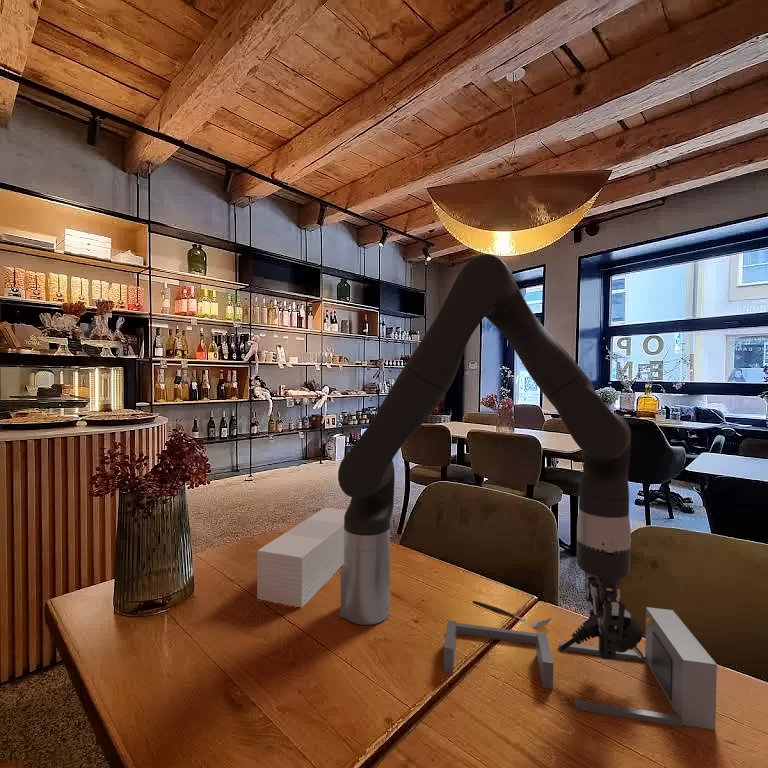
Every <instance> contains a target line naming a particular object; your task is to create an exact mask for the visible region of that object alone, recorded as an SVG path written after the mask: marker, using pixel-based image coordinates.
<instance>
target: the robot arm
mask: <svg viewBox="0 0 768 768" xmlns="http://www.w3.org/2000/svg"><path fill="white" fill-rule="evenodd" d="M484 318H486V320H488V321H489V322H490V323H491V324H492V325H494V326H495V328H497V329H498V331H499V332H500V333H501V334H502V335H503V336H504V337H505V339H506V340H507V341H508V343H509V344H510V345H511V347H512V348H513V350H514V351H515V353H516V355H517V356H518V359H519V360H520V362H521V364H522V366H524V368H525V370H526V372H527V373H528V374H529V376H530V377H531V379H532V380H533V381H534V383H535V384H536V386H537V387H538V388H539V389H540V391H541V393H543V395H544V396H545V398H546V399H547V401H549V403H550V404H551V405H552V406H553V407H554V408H555V410H556V411H557V413H558V415H559V417H560V419H561V420H562V422H563V424H564V426H565V428H566V429H567V431H568V433H569V435H570V437H572V439H573V441H574V442H575V444H576V445H577V446H578V447H579V448H580V450H581V451H582V452H583V469H582V473H581V476H580V479H579V488H578V515H577V520H576V522H577V523H576V564H577V566H578V567H579V569H580V570H582V571H583V572H584V583H585V584H584V585H585V586H584V588H585V590H584V591H585V596H584V598H585V600H586V603H587V602H588V604H587V609H588V611H589V617H590V616H591V615H593V614H595V615H596V616H597V617H598V626H599V628H598V631H599V635H598V636H597V637H596V638H598V647H599V655H598V656H599V657H600V658H601V659H603V660H609V661H615V660H616V659H617V658H616V639H622V637H623V635H622V634H623V624H624V613H625V610H626V605H625V602H624V601H620V599H621V589H620V586H619V585H617V581H618V580H620V579H625V578H626V577H628V576H629V575H630V573H631V541H632V539H631V538H632V537H631V534H632V533H631V532H632V529H631V523H630V489H629V488H630V487H629V472H630V471H629V469H630V460H631V449H632V447H631V446H632V432H631V428H630V425H629V423H628V421H627V420H626V419H625V418H623V417H622V416H621V415H620V414H618V413H615V412H613V411H612V410H610V409H609V407H608V406H607V405H606V403H605V402H604V401H603V400H602V399H601V397H600V396H599V395H598V394H597V393H596V391H595V387H594V384H593V383H592V381H591V379H590V378H589V377H588V375H586V373H585V372H584V370H583V369H582V368H581V367H580V365H579V364H578V363H577V362H576V360H575V359H574V358H573V357H572V356H571V355H570V353H569V352H568V351H567V350H566V348H564V346H562V344H561V343H560V342H559V341H558V340H557V339H556V338H555V337H554V336H553V335H552V334H551V332H549V331H548V329H546V328H545V326H544V325H543V324H542V323H541V322H540V320H539V319H538V318H537V316H536V315H535V313H534V312H533V311H532V309H531V308H530V306H529V305H528V303H527V301H526V300H525V297H524V295H523V294H522V291H521V290H520V288H519V286H518V285H517V281H516V278H515V275H514V274H513V272H512V271H511V270H510V269H509V267H508V266H507V264H506V263H505V262H504V261H503V260H502V259H501V258H500V257H498V256H497V255H494V254H491V253H485V254H484V253H483V254H480V255H477V256H475V257H473V258H472V259H470V260H469V261H468V262H467V263H465V265H463V267H462V268H461V269H460V271H459V273H458V274H457V277H456V278H455V280H454V283H453V284H452V286H451V288H450V291H449V293H448V294H447V296H446V299H445V301H444V302H443V304H442V306H441V308H440V309H439V312H438V313H437V315H436V317H435V319H434V320H433V322H432V324H431V325H430V326H429V328H428V330H427V332H426V333H425V334H424V336H423V337H422V339H421V341H419V344H418V345H417V347H416V348H415V350H414V351H413V353H412V354H411V356H409V359H408V360H407V362H406V363H405V365H404V366H403V368H402V370H401V371H400V372H399V374H398V375H397V378H396V380H395V381H394V383H393V385H392V386H391V389H389V391H388V393H387V394H386V395H385V398H384V399H383V401H382V403H381V404H380V406H379V408H378V410H377V411H376V413H375V414H374V417H373V418H372V421H371V422H370V424H369V425H368V426H367V428H366V429H365V430H364V432H363V433H362V434H361V435H360V437H359V438H358V439H357V441H356V442H355V443H354V445H353V446H352V447H351V448H350V450H349V451H347V453H346V454H345V456H343V459H342V460H341V462H340V463H339V467H338V471H337V480H338V485H339V487H340V489H341V491H342V492H343V493H344V494H345V495H346V496H348V497H350V498H351V499H350V502H349V506H348V508H346V510H347V511H346V513H345V516H344V565H343V567H342V568H341V569H340V570H339V571H340V572H339V573H340V579H339V581H340V584H339V587H340V589H339V590H340V592H339V594H340V595H339V599H340V601H339V608H340V609H339V611H340V612H339V616H340V617H341V618H344V619H346V620H348V621H349V622H351V623H353V624H357V625H364V626H365V625H375V624H378V623H381V622H383V621H385V620H386V619H387V618H388V617H389V616H390V615H389V614H390V601H391V600H390V583H391V582H390V579H391V576H390V575H391V573H390V571H391V570H390V567H391V565H390V564H391V563H390V562H391V560H390V559H391V555H390V553H391V550H390V549H391V543H390V542H391V519H392V518H391V517H392V514H393V511H394V504H395V503H394V501H395V481H396V480H395V479H396V477H395V465H394V462H393V460H394V458H395V457H396V455H397V453H398V451H399V450H400V449H401V447H402V446H403V444H405V443H406V441H407V440H408V439H409V438H410V437H411V436H412V435H413V434H414V433H415V432H416V431H417V430H418V429H419V428H420V427H421V426H422V425H423V424H424V423H425V422H426V421H427V419H428V418H429V417H430V416H431V415H432V414H433V412H434V411H435V410H436V409H437V408H438V406H439V405H440V403H441V402H442V400H443V399H444V397H445V395H446V394H447V392H448V391H449V389H450V388H451V386H452V384H453V382H454V380H455V379H456V375H457V373H458V370H459V368H460V364H461V362H462V358H463V356H464V353H465V349H466V347H467V345H468V343H469V340H470V339H471V337H472V335H473V333H474V332H475V331H476V329H477V328H478V326H479V325H480V324H481V323H482V321H483V319H484ZM601 608H604V609H603V611H600V609H601ZM609 625H612V627H610V626H609Z"/></svg>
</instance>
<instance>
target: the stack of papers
mask: <svg viewBox="0 0 768 768" xmlns="http://www.w3.org/2000/svg"><path fill="white" fill-rule="evenodd" d="M346 511H347V509H340V508H332V507H323V508H322V509H320V510H318V511H317V512H316V513H314V514H312V515H311V516H310V517H308V518H306V519H305V520H303V521H302V522H300V523H298V524H296V525H295V526H294V527H292V528H291V529H289V530H287V531H286V532H284V533H283V534H281V535H280V536H278V537H277V538H275V539H273V540H272V541H270V542H269V543H267V544H266V545H263V546H262V547H261V548H259V549H257V551H256V555H257V556H256V557H257V560H256V561H257V562H256V563H257V565H256V567H257V570H256V571H257V572H256V573H257V575H256V577H257V579H256V580H257V581H256V582H257V583H256V586H257V587H256V590H257V591H256V596H257V597H256V600H257V599H263V600H268V601H274V602H280V603H285V604H289V605H294V606H298V607H303V606H304V605H305V604H306V603H307V602H308V601H309V600H310V599H311V598H312V597H313V596H314V595H315V594H316V592H317V591H318V590H319V589H320V588H321V587H322V586H323V585H324V584H325V583H326V582H327V581H328V580H329V579H330V578H331V577H332V576H333V574H335V573H336V572H337V570H338V569H339V568H340V567H341V566H342V565H343V564H344V516H345V513H346ZM337 573H338V572H337ZM337 573H336V574H337ZM336 574H335V575H336ZM333 577H334V576H333ZM333 577H332V578H333ZM332 578H331V579H332ZM331 579H330V580H331ZM330 580H329V581H330ZM329 581H328V582H329ZM328 582H327V583H328ZM327 583H326V584H327ZM326 584H325V585H326ZM316 595H317V594H316ZM316 595H315V596H316ZM315 596H314V597H315ZM314 597H313V598H314ZM313 598H312V599H313ZM312 599H311V600H312ZM311 600H310V601H311ZM310 601H309V602H310ZM309 602H308V603H309ZM308 603H307V604H308ZM307 604H306V605H307ZM306 605H305V606H306ZM305 606H304V607H305ZM304 607H303V608H304Z"/></svg>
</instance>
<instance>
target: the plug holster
mask: <svg viewBox="0 0 768 768" xmlns="http://www.w3.org/2000/svg"><path fill="white" fill-rule="evenodd" d="M446 623H447V624H446V629H445V631H446V632H445V637H444V644H443V673H448V674H454V669H455V668H454V667H455V659H456V648H457V635H464V636H471V637H478V638H483V639H484V638H485V639H490V640H491V639H492V640H497V641H498V640H499V641H507V642H513V643H519V644H528V645H536V650H535V651H536V654H535V655H536V661H537V666H538V671H539V676H540V681H541V687H542V688H544V689H549V690H554V661H553V657H552V652H551V647H550V643H549V640H548V635H547V633H546V632H538V631H537V632H528V631H522V630H514V629H506V628H498V627H491V626H484V625H476V624H468V623H461V622H457V621H455V620H447V622H446Z"/></svg>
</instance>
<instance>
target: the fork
mask: <svg viewBox="0 0 768 768" xmlns="http://www.w3.org/2000/svg"><path fill="white" fill-rule="evenodd" d="M472 602H473V603H475V605H479V606H480V607H483V608H485V609H488V610H490V611H492V612H495V613H498V614H501V615H504V614H506V615H505V616H507V615H509V616H508V617H511V616H513V617H512V618H514V617H515V619H518V620H520V622H523V623H525V622H526V620H527V619H526V618H523V617H519V616H517V615H515V614H513V613H510V612H509V611H506V610H504V609H503V608H499V607H496V606H493V605H490V604H486V603H483V602H481V601H477V600H472ZM551 620H552V618H549V619H544V620H539V621H538V620H535V622H533V624H532V625H531V626H530V627H531V628H533V629H534V628H540V627H544V626H547V625H548V623H549V624H550V622H551Z"/></svg>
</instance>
